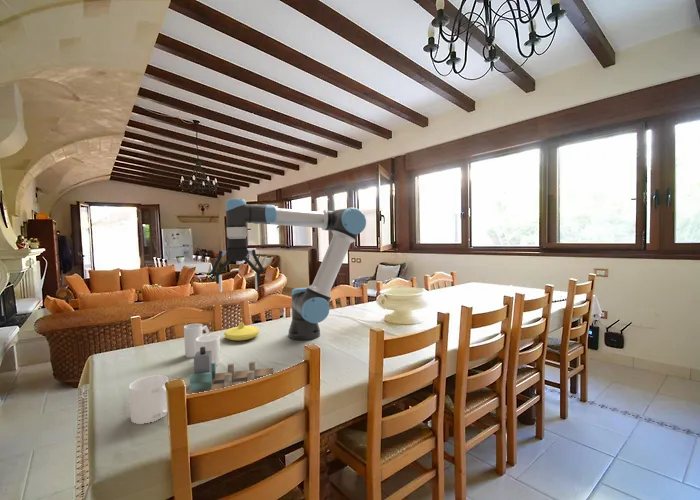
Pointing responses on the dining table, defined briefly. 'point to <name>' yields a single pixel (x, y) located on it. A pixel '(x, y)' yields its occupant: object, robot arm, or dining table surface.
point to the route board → (224, 378)
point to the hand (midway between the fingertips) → (238, 290)
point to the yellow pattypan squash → (241, 332)
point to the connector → (203, 361)
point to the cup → (210, 346)
